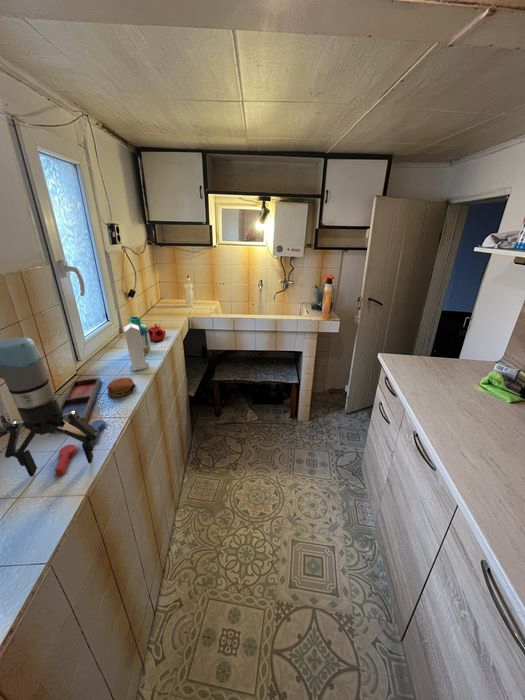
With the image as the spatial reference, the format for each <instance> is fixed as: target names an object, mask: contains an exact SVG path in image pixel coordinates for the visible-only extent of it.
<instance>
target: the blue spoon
mask: <svg viewBox="0 0 525 700" xmlns="http://www.w3.org/2000/svg"><path fill="white" fill-rule="evenodd" d="M89 425H90V426H92V427H93V428H94V429H95V430H96V431H98V435H97V438H96V440H92V441H93V444H94V445H95V444H97V442H98V439H99V436H100V431H102V430H103V429H104V428H105V427H106V423H105V420H103V419H97V420H94V421H92V422H91V423H90V424H89Z"/></svg>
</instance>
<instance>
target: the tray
mask: <svg viewBox="0 0 525 700" xmlns="http://www.w3.org/2000/svg"><path fill="white" fill-rule="evenodd" d="M101 385H102V380H101V377H100V376H99V377H93V378H85V379H78V380H73V381H72V383H71V384H70V387H69V388H68V391H67V392H66V393H65V396H64V398H63V400H61V403H60V405H59V408H60V411H61V412H62V413H63V414H65V413H68V412H70V411H71V410H72V409H75V410H76V411H77V413H78V415H79V416H80V417H81V418H82V419H83V420H85V421H86V422H87V423H88V420H89V417H90V415H91V412H92V409H93V407H94V404H95V401H96V398H97V396H98V393H99V390H100V388H101ZM63 420H65V421H67V422H68V420H67V419H63ZM68 423H69V424H70V425H72V426H74V425H73V424H72V423H71V421H70V422H68ZM60 427H62V425H60ZM74 427H75V426H74Z"/></svg>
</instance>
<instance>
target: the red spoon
mask: <svg viewBox="0 0 525 700" xmlns="http://www.w3.org/2000/svg"><path fill="white" fill-rule="evenodd" d="M77 453H78V450H77V447H76V445H75V444H66V445H64V446H63V447H61V448H60V449H59V451H58V454H59V458H58V459H59V460H58V462H57V464H56V467H55V469H54V472H55V474H56V476H62V475H64V474H65V472H66V470H67V467H68V464H69V461H70V458H72V457H74V456H75V455H76V454H77Z"/></svg>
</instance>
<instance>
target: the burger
mask: <svg viewBox="0 0 525 700" xmlns="http://www.w3.org/2000/svg"><path fill="white" fill-rule="evenodd" d="M136 387H137V386H136V384H135V382H134V380H133V379H132V378H131V377H120V378H117V379H114V380H112V381H110V382H109V384H108V385H107V394H108V395H109V396H110V397H112V398H119V397H122V396H126V395H129V394H131V392H133V391H134V390H135V389H136Z"/></svg>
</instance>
